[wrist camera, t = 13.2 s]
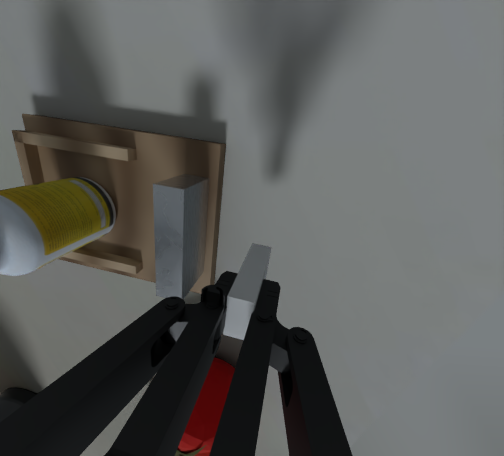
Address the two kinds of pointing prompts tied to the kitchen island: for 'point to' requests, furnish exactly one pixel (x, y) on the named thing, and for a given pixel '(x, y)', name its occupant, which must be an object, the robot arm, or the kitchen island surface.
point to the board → (122, 184)
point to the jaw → (179, 233)
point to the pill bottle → (50, 222)
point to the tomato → (207, 411)
